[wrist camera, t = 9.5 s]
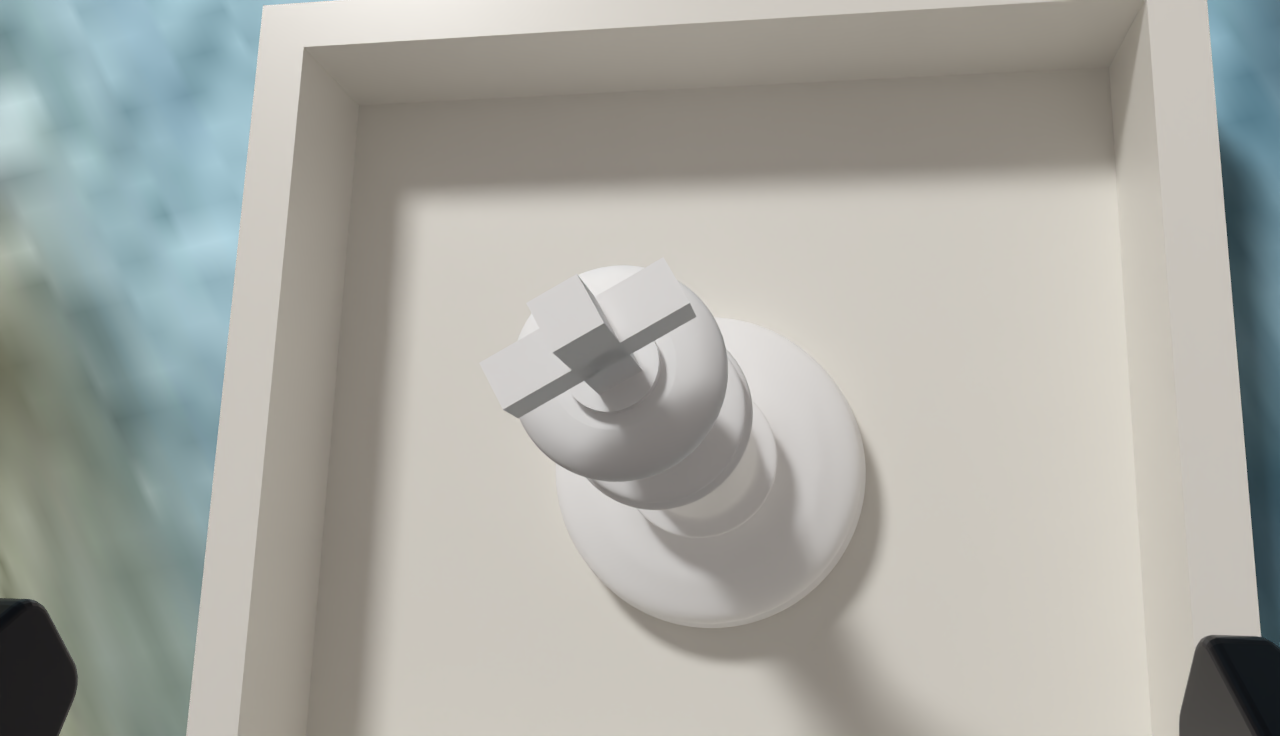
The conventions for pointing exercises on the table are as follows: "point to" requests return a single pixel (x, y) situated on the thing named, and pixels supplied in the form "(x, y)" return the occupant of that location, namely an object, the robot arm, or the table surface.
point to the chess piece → (684, 446)
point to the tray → (748, 291)
